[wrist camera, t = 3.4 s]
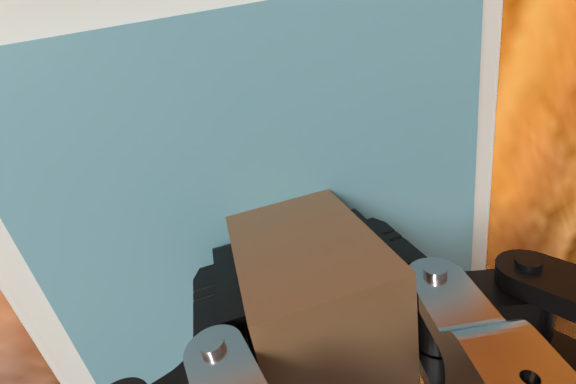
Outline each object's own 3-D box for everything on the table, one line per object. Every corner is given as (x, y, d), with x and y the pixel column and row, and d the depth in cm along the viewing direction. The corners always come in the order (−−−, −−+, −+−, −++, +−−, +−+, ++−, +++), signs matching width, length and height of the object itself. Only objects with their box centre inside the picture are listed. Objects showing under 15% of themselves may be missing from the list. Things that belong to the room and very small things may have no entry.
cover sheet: (465, -31, 11) (719, -116, 6) (456, 324, 17) (576, 444, 12) (-67, 61, 8) (-499, 62, 3) (142, 439, 14) (113, 659, 9)
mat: (493, -87, 11) (509, -95, 11) (472, 329, 18) (481, 337, 18) (-158, 6, 8) (-183, 2, 8) (121, 459, 15) (118, 474, 15)
